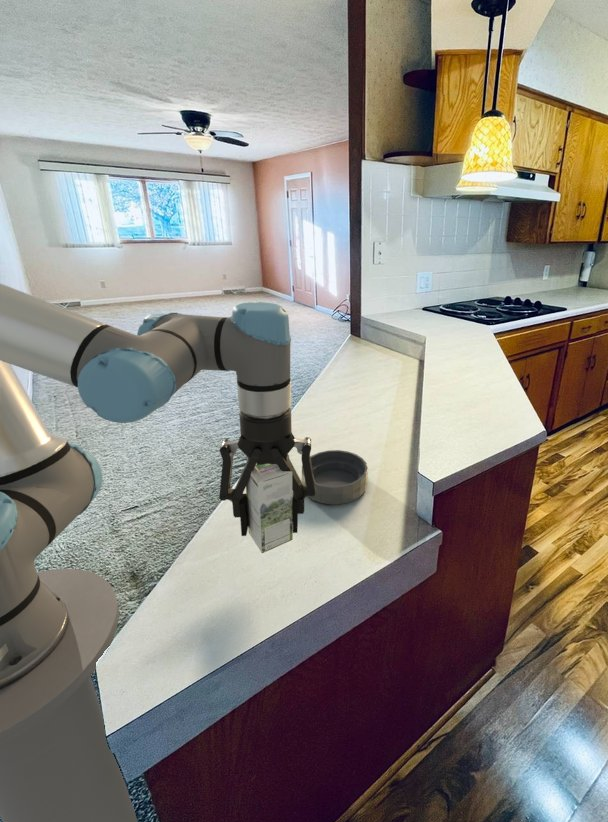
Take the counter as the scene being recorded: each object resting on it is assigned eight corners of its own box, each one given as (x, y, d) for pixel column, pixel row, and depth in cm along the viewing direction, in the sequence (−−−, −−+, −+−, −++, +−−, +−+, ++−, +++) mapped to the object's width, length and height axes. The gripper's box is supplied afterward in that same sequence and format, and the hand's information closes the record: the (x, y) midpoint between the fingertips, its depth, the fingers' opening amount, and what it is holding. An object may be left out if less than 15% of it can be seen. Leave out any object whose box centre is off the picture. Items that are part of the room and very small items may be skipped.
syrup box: (279, 521, 74) (276, 452, 69) (294, 541, 70) (292, 470, 65) (248, 534, 71) (243, 463, 66) (262, 555, 67) (257, 481, 61)
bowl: (301, 508, 89) (301, 489, 87) (302, 468, 103) (302, 451, 101) (370, 504, 92) (371, 485, 90) (362, 465, 106) (363, 449, 104)
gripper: (332, 397, 67) (329, 510, 75) (199, 398, 63) (211, 517, 71) (335, 419, 60) (331, 540, 68) (185, 420, 56) (201, 549, 65)
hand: (270, 528), depth 70 cm, fingers closed on syrup box, 8 cm apart
